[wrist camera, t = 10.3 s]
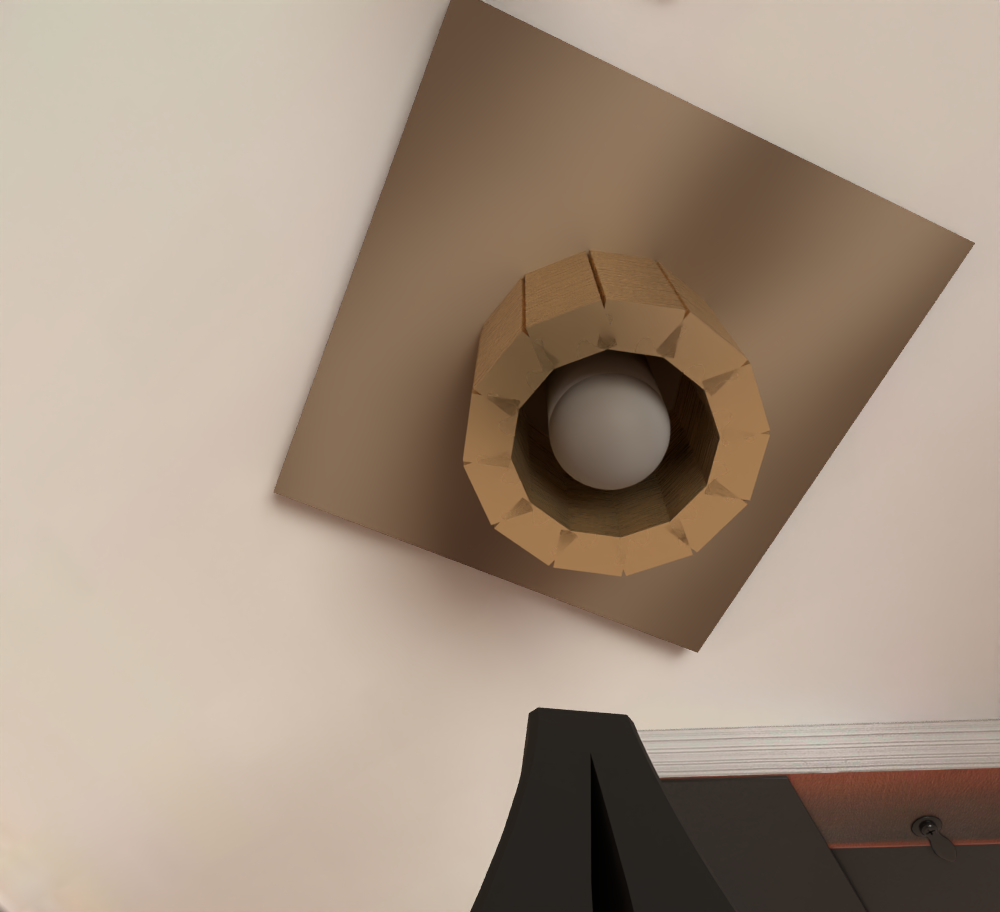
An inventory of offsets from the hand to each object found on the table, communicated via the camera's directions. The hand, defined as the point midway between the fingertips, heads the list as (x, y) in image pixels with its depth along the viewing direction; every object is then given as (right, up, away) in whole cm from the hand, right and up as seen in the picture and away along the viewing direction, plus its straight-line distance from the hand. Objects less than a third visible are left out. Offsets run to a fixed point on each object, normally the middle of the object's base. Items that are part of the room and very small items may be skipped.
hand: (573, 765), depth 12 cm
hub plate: (+1, +6, +8) cm, 11 cm away
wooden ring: (+1, +6, +8) cm, 10 cm away
